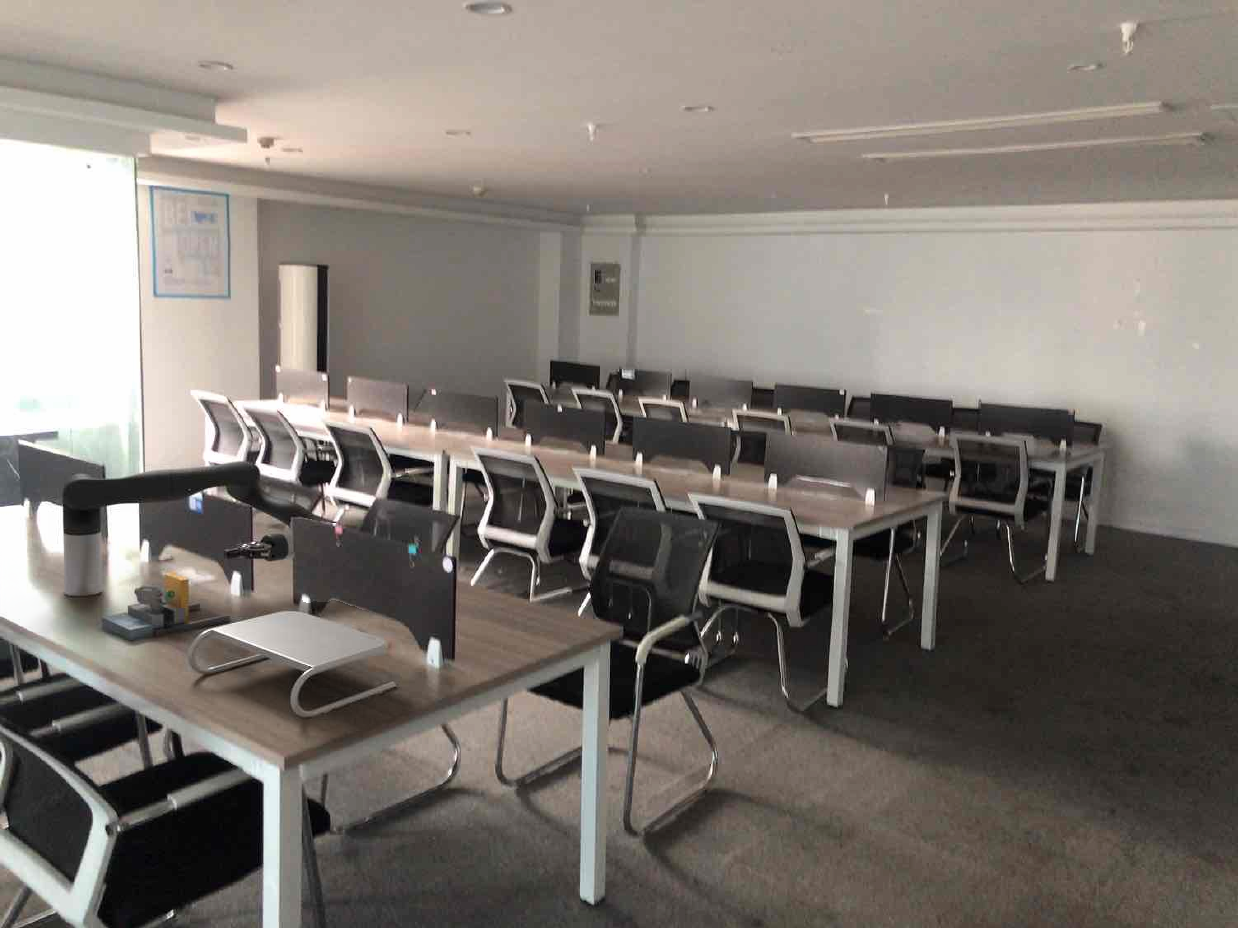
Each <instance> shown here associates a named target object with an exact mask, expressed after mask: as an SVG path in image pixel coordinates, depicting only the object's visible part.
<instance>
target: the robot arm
mask: <svg viewBox="0 0 1238 928" xmlns="http://www.w3.org/2000/svg"><path fill="white" fill-rule="evenodd" d="M260 481H261V470H260V468H259V467H258V465H256V464H255V463H254V462H253V463H252V462H251V461H245V460H244V461H242V460H239V461H231V462H226V463H220V464H213V465H207V466H197V467H186V468H169V469H155V470H149V471H142V472H140V473H136V474H132V475H127V476H123V477H116V478H115V477H114V478H95V477H93V476H92V475H90V474H88V473H76V474H73V475H70V476H69V477H68V478H67V479H66V480H65V482H64V483H63V485H62V490H61V491H62V492H61V493H62V528H63V529H62V531H63V533H62V534H63V570H64V581H63V583H64V594H65V596H70V597H85V596H86V597H87V596H93V595H97V594H99V593H101V592H102V591H103V579H102V578H103V571H102V569H103V564H102V563H103V561H102V518H101V516H102V515H101V508H103V507H109V506H115V505H123V504H125V505H126V504H151V503H152V504H153V503H155V504H156V503H166V502H168V503H169V502H176V501H181V500H184V499H187V498H189V497H191V496H194V495H195V494H198V493H200V492H203V491H205V490H208V489H212V488H218V487H219V488H221V487H225V490H226V493H227V494H228V495H229V497H231V498H232V499H234V500H236V501H237V502H240V503H241V504H244V503H246V504H249V505H251V506H252V507H251V506H250V507H251V508H253V509H256V510H257V511H259V512H262V513H265V514H266V515H268V516H270V517H272V518H274V519H276V520H278V521H279V522H281V523H283V524H284V525H285V526H288V527H289V528H290V529H292V528H291V527H290V522H291V517H303V518H308V519H312V520H316V521H323V522H330V523H339V522H338V521H335V520H331V519H328V518H325V517H323V516H321V515H316V514H315V513H313V512H311V511H310V510H309V509H307V508H306V507H305V506H303V505H301V504H298V503H297V502H294V501H291V500H287V499H283V498H278V497H276V496H274V495H272V494H269V493H268V492H266V491H265V490H264V489H263V488H262V487H260ZM189 489H190V490H189ZM246 504H245V505H246ZM249 505H248V506H249ZM339 524H340V525H342V524H341V523H339ZM292 532H293V531H292ZM292 532H291V531H287V532H280V533H279V532H277V533H272V534H271V533H270V534H269V533H268V534H266V535H264V536H262V538H261V540H260V541H258V540H255V541H252V542H249V543H247V542H246V541H241V542H238V543H237V544H235V545H234V548H228V549H224V550H223V558H224V559H227V560H229V559H235V558H240V559H243V558H245V559H247V560H251V559H252V560H254V559H255V560H262V559H263V560H264V561H265V562H276V561H283V560H289V559H293V557H294V550H293V539H292ZM294 558H295V557H294Z"/></svg>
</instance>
